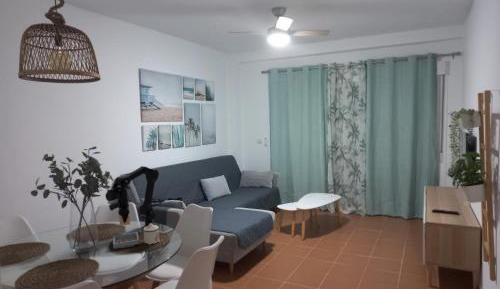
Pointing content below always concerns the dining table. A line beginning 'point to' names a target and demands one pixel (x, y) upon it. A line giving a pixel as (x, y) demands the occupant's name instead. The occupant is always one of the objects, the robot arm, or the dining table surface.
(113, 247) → the big crate
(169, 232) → the dining table surface
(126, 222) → the small crate
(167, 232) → the dining table surface
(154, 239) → the teacup with lid
